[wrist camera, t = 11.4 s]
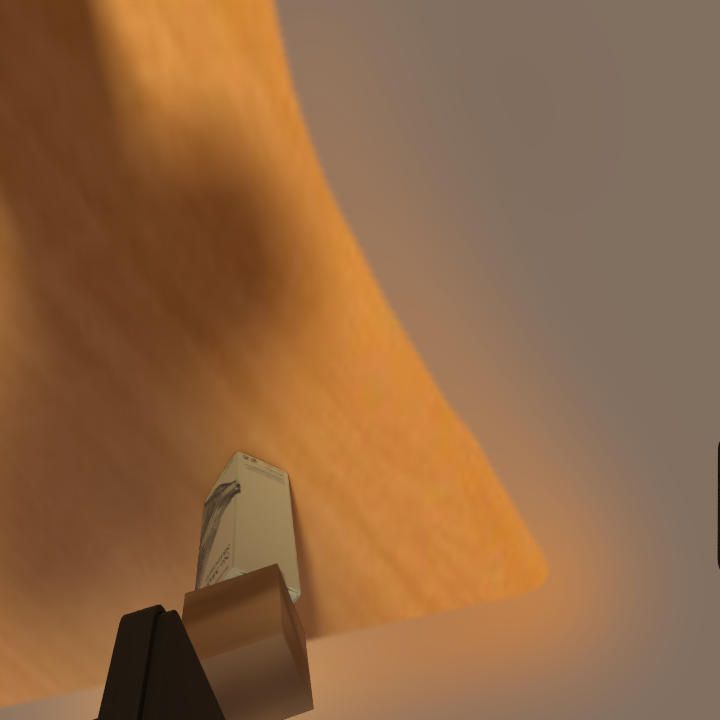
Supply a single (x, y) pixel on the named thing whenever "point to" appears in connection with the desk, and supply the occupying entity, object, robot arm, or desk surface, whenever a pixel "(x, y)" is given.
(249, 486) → the box
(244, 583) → the walnut cube
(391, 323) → the desk surface
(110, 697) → the robot arm
